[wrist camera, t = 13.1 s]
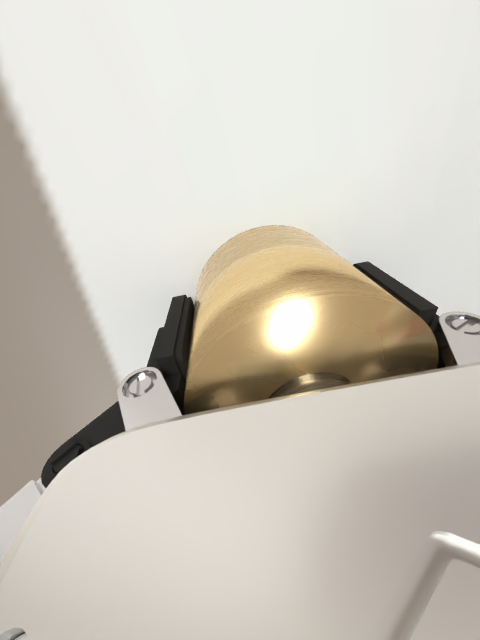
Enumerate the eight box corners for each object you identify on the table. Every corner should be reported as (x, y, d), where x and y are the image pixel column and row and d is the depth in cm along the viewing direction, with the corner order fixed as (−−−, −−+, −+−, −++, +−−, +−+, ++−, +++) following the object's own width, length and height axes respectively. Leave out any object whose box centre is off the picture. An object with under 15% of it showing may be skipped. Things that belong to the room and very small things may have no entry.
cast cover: (368, 256, 11) (534, 362, 5) (295, 362, 14) (349, 493, 9) (223, 198, 9) (244, 265, 3) (181, 337, 12) (155, 484, 7)
